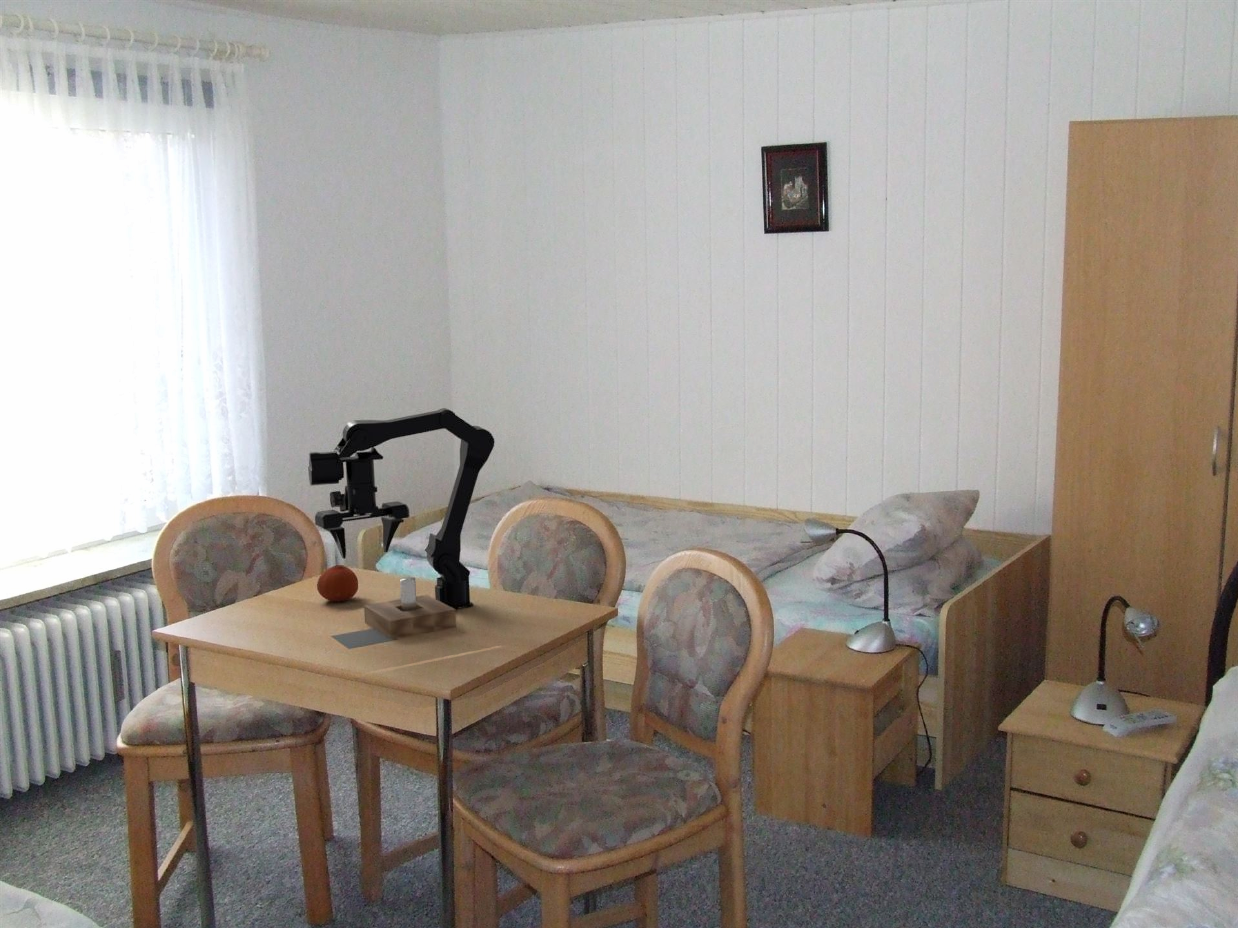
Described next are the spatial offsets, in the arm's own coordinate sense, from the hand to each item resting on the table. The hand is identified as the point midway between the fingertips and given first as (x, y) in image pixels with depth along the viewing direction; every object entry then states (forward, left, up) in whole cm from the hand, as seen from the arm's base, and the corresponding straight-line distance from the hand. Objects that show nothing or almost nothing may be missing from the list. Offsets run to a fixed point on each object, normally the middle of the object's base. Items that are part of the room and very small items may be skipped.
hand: (364, 555), depth 261 cm
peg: (-4, +13, -13) cm, 19 cm away
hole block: (-4, +13, -13) cm, 19 cm away
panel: (+7, +16, -13) cm, 22 cm away
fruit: (+1, -15, -13) cm, 20 cm away
